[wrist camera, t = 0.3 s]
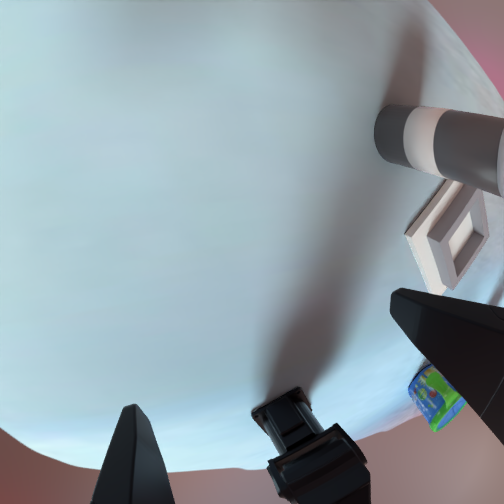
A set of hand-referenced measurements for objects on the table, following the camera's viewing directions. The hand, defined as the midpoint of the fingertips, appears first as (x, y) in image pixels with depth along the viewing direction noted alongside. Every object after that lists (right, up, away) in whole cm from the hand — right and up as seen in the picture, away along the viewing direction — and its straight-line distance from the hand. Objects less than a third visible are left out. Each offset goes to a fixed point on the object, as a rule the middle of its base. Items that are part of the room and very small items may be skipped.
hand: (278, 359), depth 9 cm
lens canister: (+12, +14, +16) cm, 24 cm away
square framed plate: (+24, +6, +24) cm, 35 cm away
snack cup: (+30, -20, +39) cm, 53 cm away
